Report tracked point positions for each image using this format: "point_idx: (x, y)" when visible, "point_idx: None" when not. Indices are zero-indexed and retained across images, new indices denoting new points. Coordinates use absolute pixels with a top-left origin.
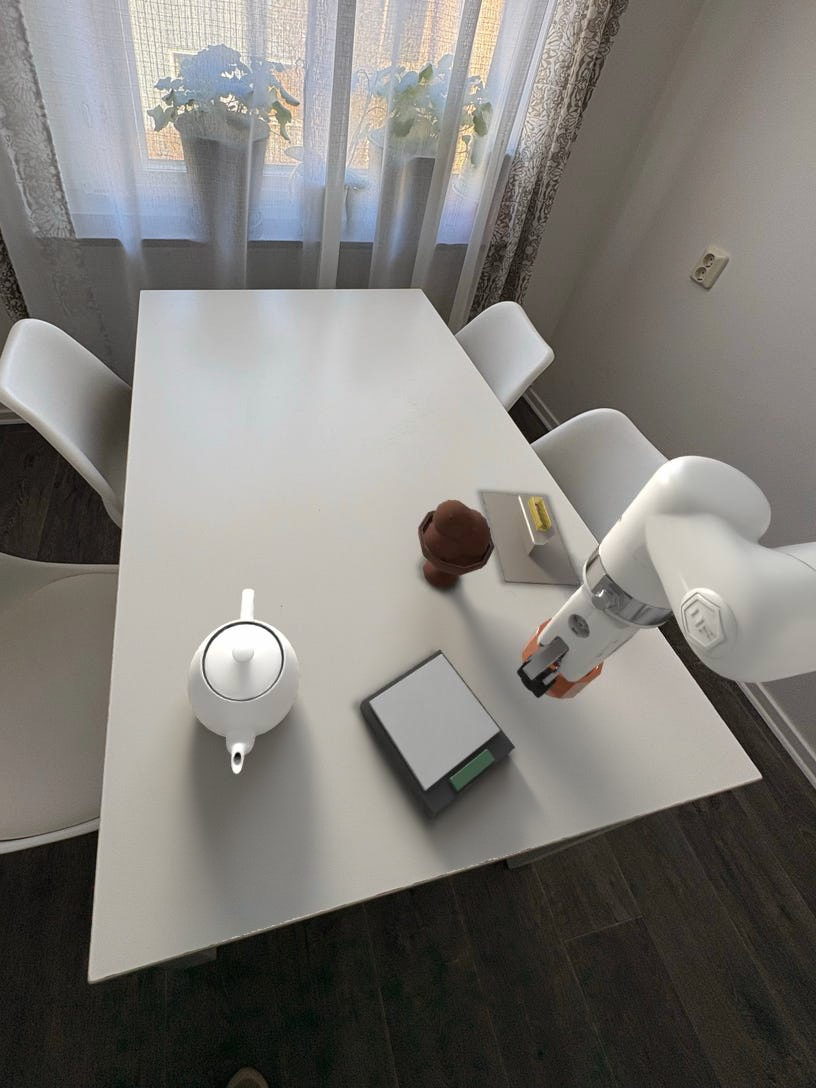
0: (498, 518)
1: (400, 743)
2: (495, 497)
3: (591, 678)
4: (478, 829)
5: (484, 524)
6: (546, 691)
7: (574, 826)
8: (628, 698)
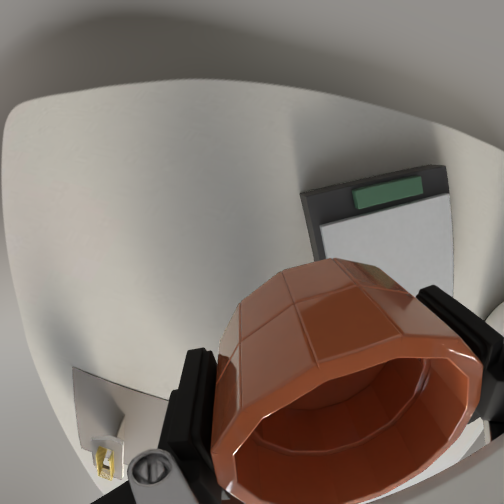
0: None
1: (449, 253)
2: None
3: (390, 348)
4: (385, 130)
5: None
6: (440, 302)
7: (255, 83)
8: (70, 214)
